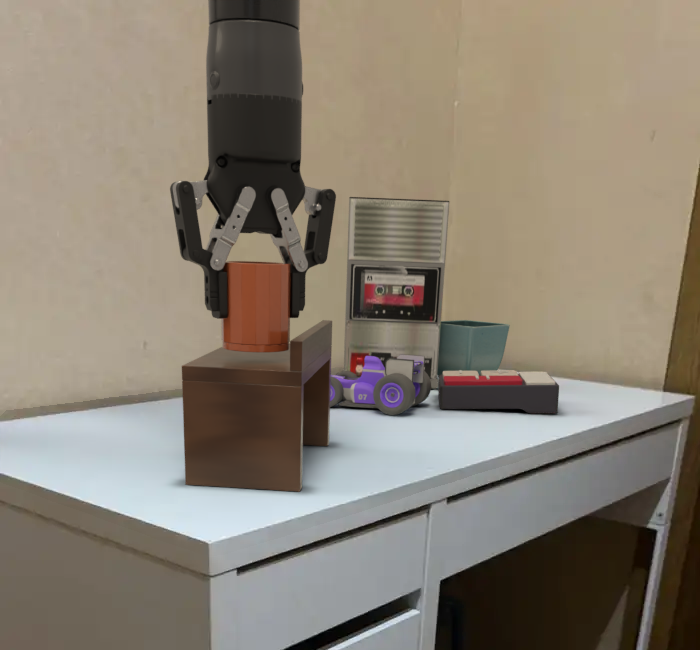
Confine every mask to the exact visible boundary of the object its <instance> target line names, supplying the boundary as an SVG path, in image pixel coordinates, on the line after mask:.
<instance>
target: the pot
mask: <svg viewBox="0 0 700 650" xmlns="http://www.w3.org/2000/svg"><path fill="white" fill-rule="evenodd" d="M223 272H227V307H228V315H227V318H226V319H221V320H220V322H221V323H220V325H221V326H220V327H221V329H220V330H221V347H223V348H224V349H227V350H232V351H241V352H281V351H287V350H289V343H290V341H291V318H290V264H289V263H283V262H277V261H276V262H275V261H258V260H257V261H256V260H255V261H254V260H252V261H251V260H226V262H225V265H224V267H223Z"/></svg>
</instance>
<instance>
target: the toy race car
mask: <svg viewBox="0 0 700 650" xmlns="http://www.w3.org/2000/svg"><path fill="white" fill-rule="evenodd" d="M424 360H425V356H417V355H405V354H400V355H399V356H398V357H397V358H389V359H387V360H386V362H385V367H384V366H383V364H382V362H381V360H380V359H379V358H377V357H375V356H365V359H364V363H365V365H364V367H363V371H362V375H361V377H360V378H358V377H357V376H356V375H355V374H354V373H353V372H350V371H344V370H342V371H340V372H337V373H335V374H331V389H330V408H332V407H334V406H341V407H351V408H363V409H364V408H365V409H366V408H367V409H378V410H379V411H380V412H382V413H383V414H385V415H388V416H397V415H399V414H403V413H404V412H406V411H407V410H409V409H410V408H411V407H415V406H417V405H420V404H422V403H423V402H425V401H426V400H427V399H428V397H429V396H430V393H431V390H432V389H431V381H430V378H429V376H428V374H427V373H426V372H425V371H424Z"/></svg>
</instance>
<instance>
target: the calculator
mask: <svg viewBox="0 0 700 650" xmlns="http://www.w3.org/2000/svg"><path fill="white" fill-rule="evenodd" d="M437 394H438V395H437V396H438V402H439V408H440V409H441V410H522V411H524V412H525V413H527V414H533V415H534V414H540V415H541V414H542V415H543V414H544V415H545V414H547V415H548V414H557V413H558V411H559V398H560V397H559V395H560V385H559V384H558V383H557V381H556V380H555V379H554V378H553V377H552V376H551V375H550V374H549V373H548V372H547V371H519V372H517V371H516V370H513V369H511V370H507V369H506V370H505V369H503V370H502V369H498V370H490V371H481V374H478V372H477V371H462V370H459V371H443V375H439V377H438V393H437Z"/></svg>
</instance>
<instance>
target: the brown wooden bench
mask: <svg viewBox="0 0 700 650" xmlns="http://www.w3.org/2000/svg"><path fill="white" fill-rule="evenodd" d="M332 347H333V320H329V319H328V320H327V319H325V320H324V319H323V320H320V322H318V323H316V324H314V325H313V326H311V327H310V328H308V329H307V330H305V331H303V332H301V333H300V334H298V335H296V336H295V337H294V338H292V339H290V342H289V350H287V351H281V352H241V351H232V350H227V349H224V348H223V347H222V346H221V347H218V348H217V349H215V350H212V351H210V352H208V353H206V354H203V355H202V356H199V357H197V358H195V359H193V360H191V361H188V362H187V363H185V364H183V365H181V387H182V389H181V390H182V391H181V392H182V417H183V418H182V419H183V420H182V421H183V449H184V477H185V478H184V479H185V482H184V483H185V485H186V486H187V485H188V486H203V487H219V488H235V489H236V488H237V489H252V490H267V491H268V490H270V491H284V492H285V491H286V492H301V491H302V489H303V455H304V454H303V453H304V452H303V451H304V450H303V449H304V448H303V447H304V446H317V447H328V446H329V444H330V420H331V407H330V389H331V375H332V351H333V350H332Z"/></svg>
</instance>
